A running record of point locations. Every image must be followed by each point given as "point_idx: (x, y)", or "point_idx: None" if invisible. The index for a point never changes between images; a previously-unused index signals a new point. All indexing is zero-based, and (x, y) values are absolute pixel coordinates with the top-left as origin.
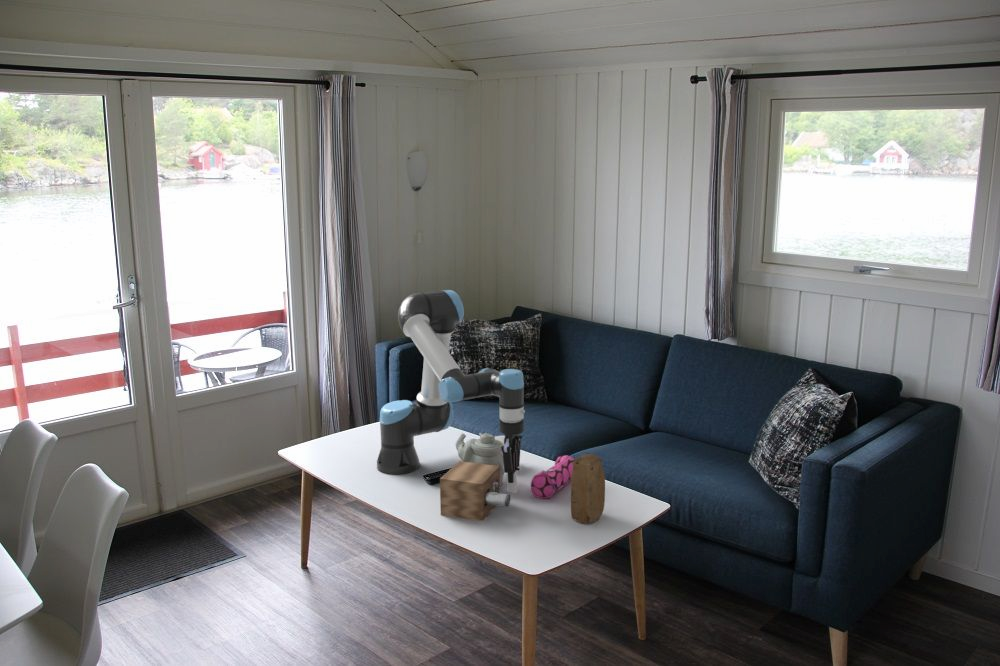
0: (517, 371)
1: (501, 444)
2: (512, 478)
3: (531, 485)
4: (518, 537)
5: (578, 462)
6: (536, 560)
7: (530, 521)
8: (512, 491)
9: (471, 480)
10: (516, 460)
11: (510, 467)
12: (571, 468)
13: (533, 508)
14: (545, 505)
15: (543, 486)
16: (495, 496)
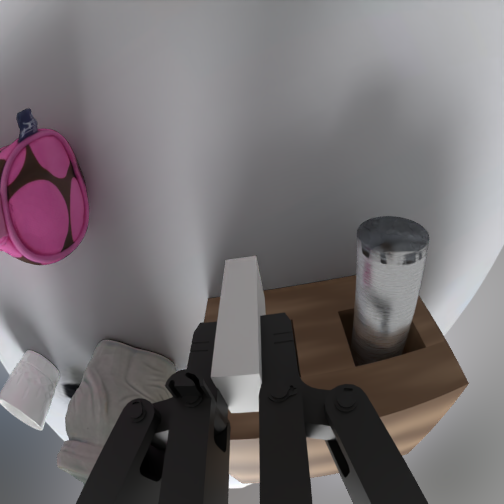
0: None
1: (69, 469)
2: (288, 343)
3: (72, 246)
4: (473, 97)
5: None
6: None
7: (338, 89)
8: (259, 275)
9: (423, 422)
10: (199, 486)
11: (392, 446)
12: None
13: (189, 145)
14: (128, 118)
15: (51, 181)
16: (416, 301)
